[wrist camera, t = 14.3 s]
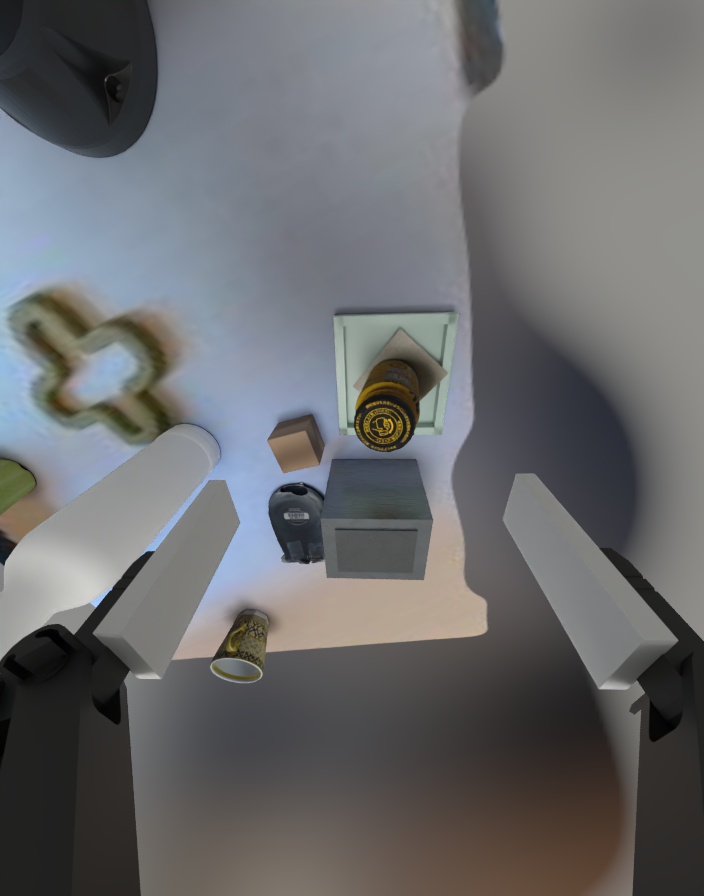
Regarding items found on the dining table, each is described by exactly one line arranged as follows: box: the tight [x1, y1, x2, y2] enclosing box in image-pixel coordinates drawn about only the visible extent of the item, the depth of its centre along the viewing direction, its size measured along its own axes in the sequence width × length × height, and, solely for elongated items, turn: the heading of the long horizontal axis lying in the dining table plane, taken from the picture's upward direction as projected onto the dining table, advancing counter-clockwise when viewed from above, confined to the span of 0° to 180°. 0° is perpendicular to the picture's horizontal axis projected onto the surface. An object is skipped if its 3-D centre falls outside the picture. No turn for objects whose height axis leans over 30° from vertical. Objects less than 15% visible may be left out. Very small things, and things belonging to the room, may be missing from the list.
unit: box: [320, 459, 433, 580], centre depth 38 cm, size 10×12×12 cm
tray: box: [333, 312, 459, 435], centre depth 34 cm, size 14×13×2 cm
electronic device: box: [268, 482, 325, 564], centre depth 46 cm, size 9×6×15 cm
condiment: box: [353, 329, 448, 452], centre depth 28 cm, size 7×8×12 cm
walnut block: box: [267, 414, 325, 473], centre depth 37 cm, size 5×5×5 cm
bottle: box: [0, 424, 220, 661], centre depth 28 cm, size 8×8×30 cm
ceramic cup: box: [210, 610, 269, 683], centre depth 58 cm, size 13×10×10 cm
